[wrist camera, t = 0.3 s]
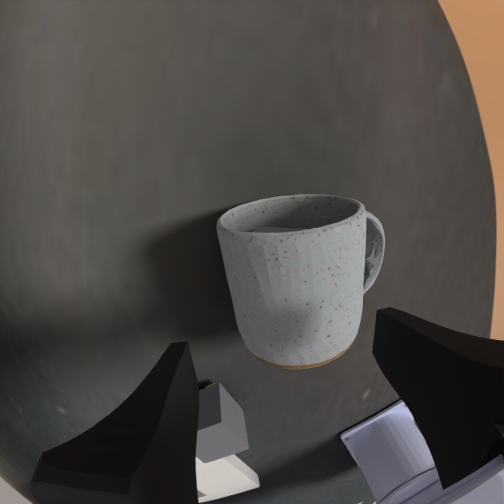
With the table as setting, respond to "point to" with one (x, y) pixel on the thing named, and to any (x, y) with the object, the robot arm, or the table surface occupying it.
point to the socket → (224, 478)
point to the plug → (219, 425)
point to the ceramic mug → (300, 274)
